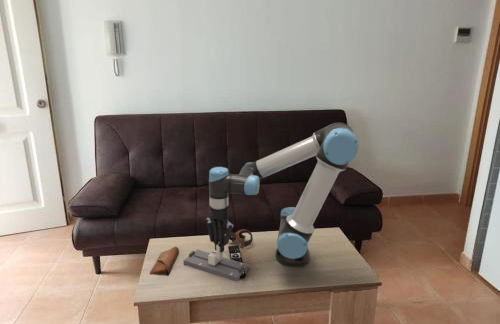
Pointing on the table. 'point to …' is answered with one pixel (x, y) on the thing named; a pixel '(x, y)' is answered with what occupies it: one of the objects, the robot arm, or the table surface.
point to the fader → (213, 258)
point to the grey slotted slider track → (222, 268)
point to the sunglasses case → (165, 262)
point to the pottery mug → (239, 235)
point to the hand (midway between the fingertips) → (219, 257)
